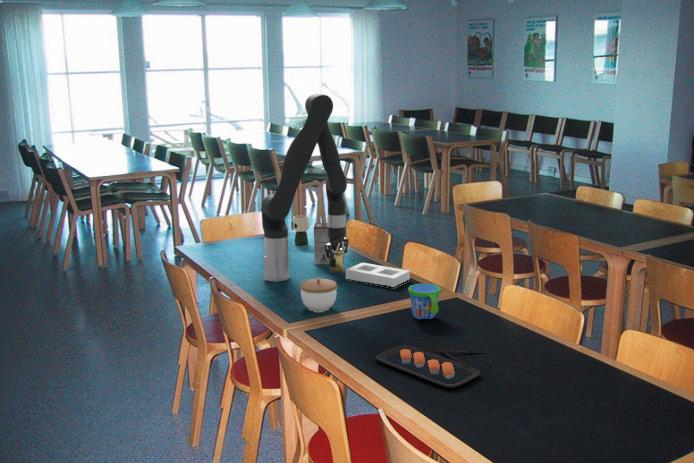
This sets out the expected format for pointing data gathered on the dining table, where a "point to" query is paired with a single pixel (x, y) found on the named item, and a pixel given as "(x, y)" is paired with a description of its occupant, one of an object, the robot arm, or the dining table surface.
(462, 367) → the sushi plate
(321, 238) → the coffee box
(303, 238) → the character mug
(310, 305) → the lidded bowl
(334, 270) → the gold piece
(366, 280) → the frame
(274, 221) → the robot arm
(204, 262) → the dining table surface
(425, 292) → the snack cup
